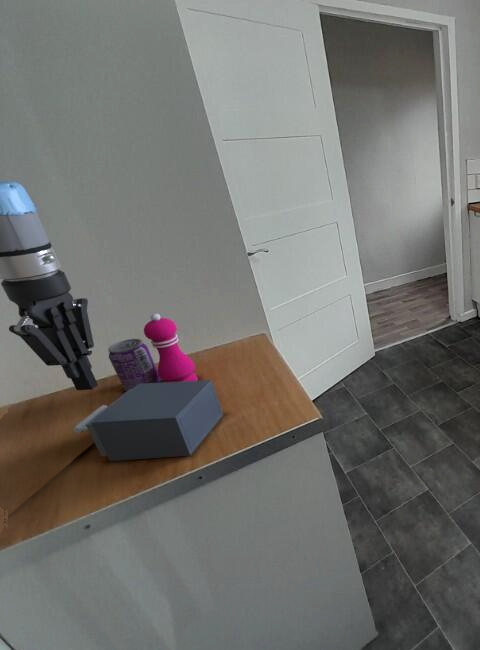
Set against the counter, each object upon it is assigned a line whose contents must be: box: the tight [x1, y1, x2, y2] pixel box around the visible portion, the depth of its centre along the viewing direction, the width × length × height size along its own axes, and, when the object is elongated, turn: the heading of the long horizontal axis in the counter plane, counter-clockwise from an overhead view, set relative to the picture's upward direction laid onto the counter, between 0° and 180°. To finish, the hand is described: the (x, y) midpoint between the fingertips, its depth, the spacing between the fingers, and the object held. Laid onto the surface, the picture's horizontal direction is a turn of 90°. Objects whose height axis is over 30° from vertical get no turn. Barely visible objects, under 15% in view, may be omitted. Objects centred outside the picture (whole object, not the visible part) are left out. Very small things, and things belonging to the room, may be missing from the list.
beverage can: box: [108, 338, 162, 392], centre depth 100 cm, size 7×7×12 cm
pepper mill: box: [143, 313, 198, 382], centre depth 100 cm, size 7×7×20 cm
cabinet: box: [91, 379, 224, 462], centre depth 85 cm, size 15×13×10 cm
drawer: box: [72, 389, 132, 457], centre depth 84 cm, size 18×11×8 cm, turn 97°
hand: (87, 387), depth 80 cm, fingers closed
